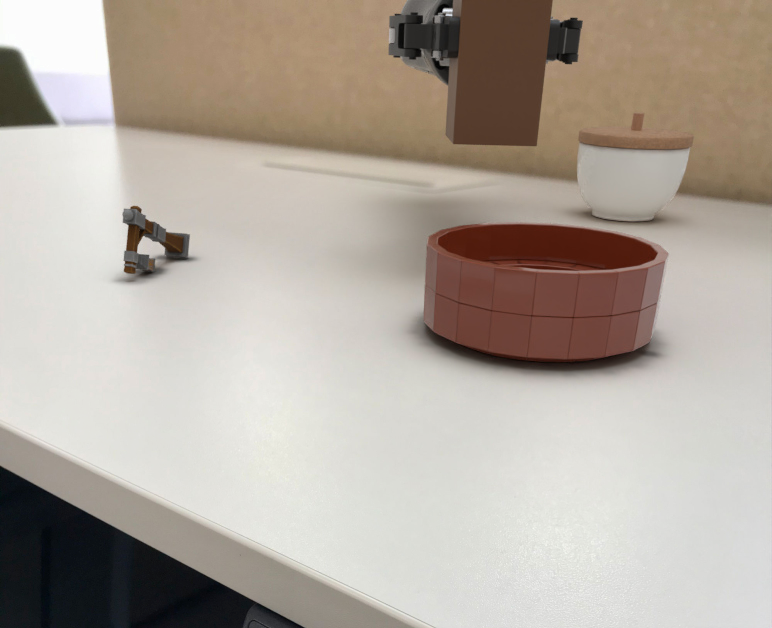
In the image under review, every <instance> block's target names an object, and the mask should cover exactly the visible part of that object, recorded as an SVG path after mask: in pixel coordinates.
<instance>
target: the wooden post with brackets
mask: <svg viewBox="0 0 772 628" xmlns="http://www.w3.org/2000/svg"><path fill="white" fill-rule="evenodd" d="M142 211H143V209H142V208H141V207H140V206H138V205H132V206H130V207H129V208H123V211H122V224H126V225H127V236H126V245H125V250H123V259H122V260H123V262H124V263H123V273H126V274H129V275H130V274H131V275H136V274H137V271H136V270H141V272H150V273H155V271H156V270H155V269H156V258H151V257H150V254H145V253H144V254H142V253H138V247H139V244H140V243H141V241H142V239H143V237H144V238H148V239H149V240H151V241H152V242H154V243H159V244H160V245H161V246H162V247H163V248H164V256H165V257H166V258H175V259H176V258H178V259H189V253H190V252H189V250H190V238H191V233H185V232H170V231H167V228H165V227H163V226H161V225H160V224H159V223H158V222H156V221H150V220H149V219H147V215H146V214H143V213H142Z"/></svg>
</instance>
